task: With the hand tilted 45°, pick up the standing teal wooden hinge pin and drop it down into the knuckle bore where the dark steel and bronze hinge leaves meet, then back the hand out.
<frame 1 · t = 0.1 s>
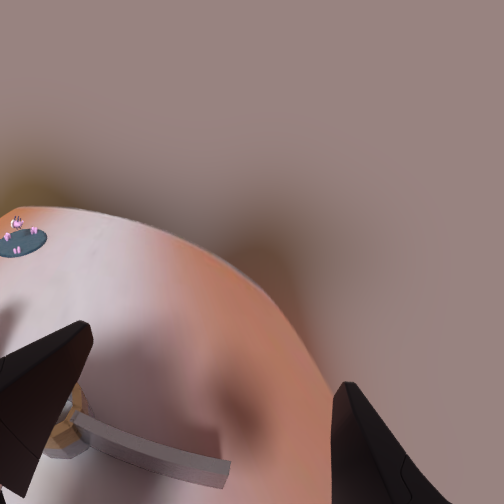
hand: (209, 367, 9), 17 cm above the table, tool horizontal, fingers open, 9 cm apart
bronze hinge leaf: (58, 423, 17), on the table
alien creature: (21, 245, 41), on the table
steel hinge leaf: (58, 423, 17), on the table
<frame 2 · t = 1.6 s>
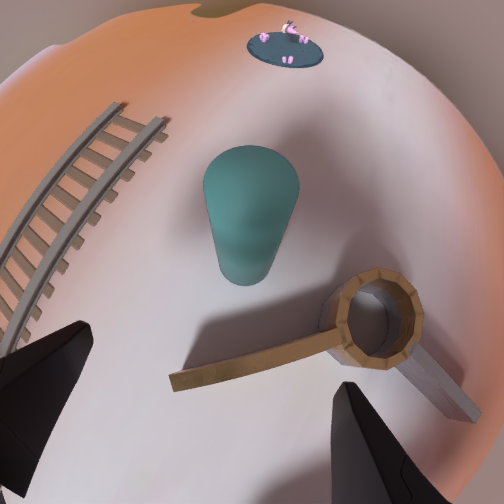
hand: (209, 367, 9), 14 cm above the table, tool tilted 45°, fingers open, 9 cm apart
bronze hinge leaf: (360, 324, 23), on the table
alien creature: (285, 51, 36), on the table
teal hinge pin: (245, 260, 24), on the table
model train track: (55, 224, 25), on the table
steel hinge leaf: (360, 324, 23), on the table
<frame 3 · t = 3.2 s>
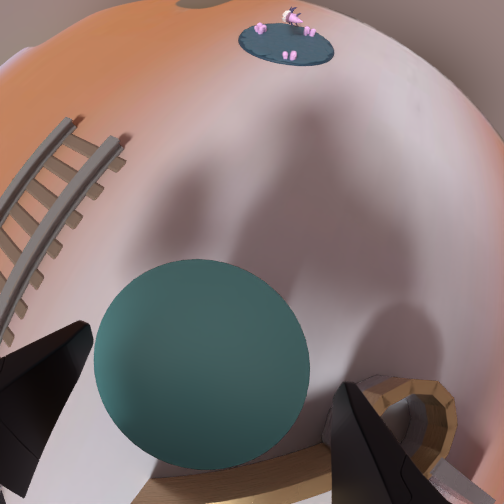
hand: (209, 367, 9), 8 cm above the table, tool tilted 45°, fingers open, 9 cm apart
bronze hinge leaf: (375, 427, 15), on the table
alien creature: (286, 45, 28), on the table
teal hinge pin: (224, 354, 16), on the table
model train track: (1, 278, 18), on the table
steel hinge leaf: (375, 427, 15), on the table
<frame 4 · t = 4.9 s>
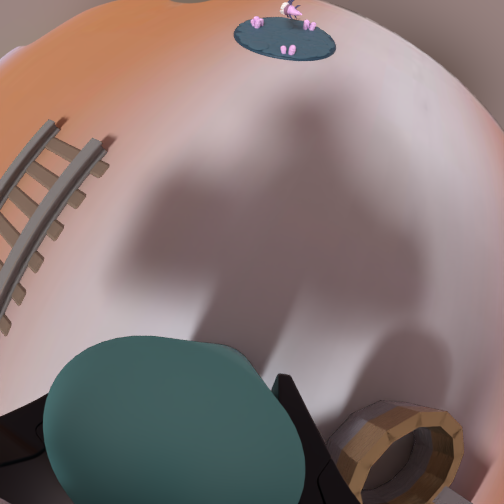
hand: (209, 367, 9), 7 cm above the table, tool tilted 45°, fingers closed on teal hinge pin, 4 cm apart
bronze hinge leaf: (377, 454, 13), on the table
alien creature: (284, 40, 26), on the table
teal hinge pin: (215, 382, 14), on the table, touching gripper
steel hinge leaf: (377, 454, 13), on the table
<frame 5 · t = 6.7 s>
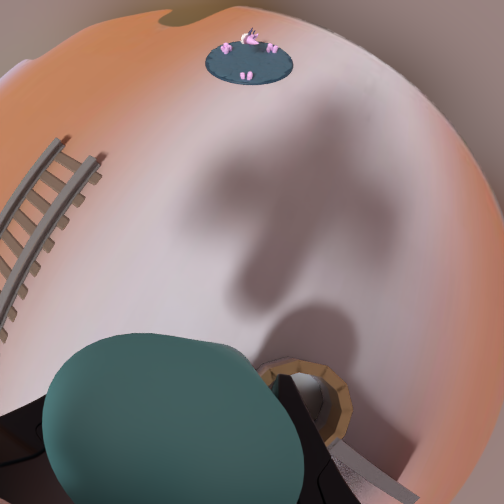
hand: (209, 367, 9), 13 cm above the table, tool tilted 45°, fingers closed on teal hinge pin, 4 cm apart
bronze hinge leaf: (286, 402, 20), on the table
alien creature: (249, 64, 33), on the table
teal hinge pin: (215, 381, 14), point 7 cm above the table, touching gripper
model train track: (7, 269, 23), on the table
steel hinge leaf: (286, 402, 20), on the table
when the fingers open (9 cm above the table, at t = 8.9 s): teal hinge pin drops 3 cm, resting in steel hinge leaf.
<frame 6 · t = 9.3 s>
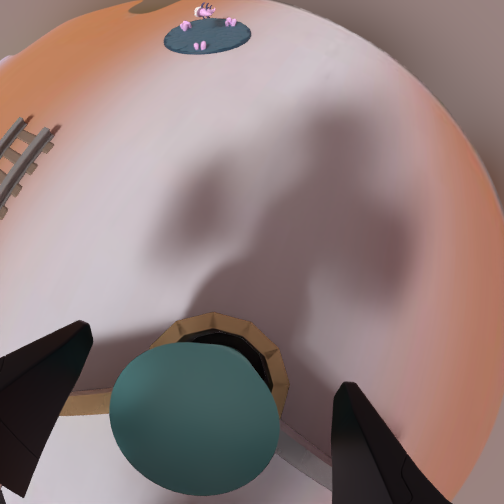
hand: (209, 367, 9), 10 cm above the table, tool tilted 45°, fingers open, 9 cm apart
bronze hinge leaf: (219, 376, 17), on the table
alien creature: (207, 37, 30), on the table
teal hinge pin: (219, 377, 17), resting in steel hinge leaf
steel hinge leaf: (219, 376, 17), on the table
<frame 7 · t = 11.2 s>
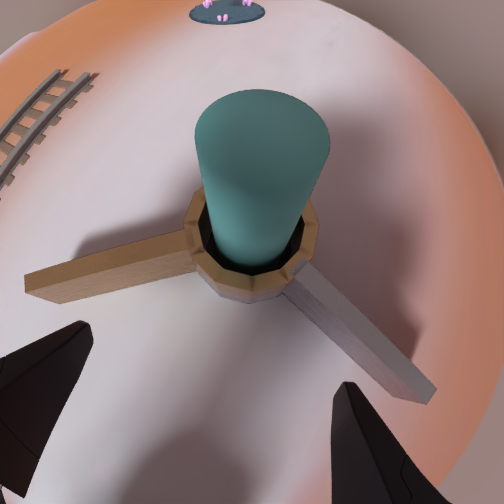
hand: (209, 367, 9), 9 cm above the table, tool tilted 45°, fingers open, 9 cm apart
bronze hinge leaf: (248, 249, 20), on the table
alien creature: (227, 14, 33), on the table
teal hinge pin: (249, 249, 20), resting in steel hinge leaf
steel hinge leaf: (248, 249, 20), on the table
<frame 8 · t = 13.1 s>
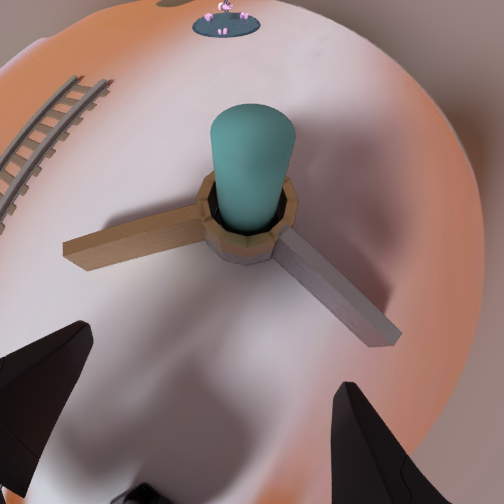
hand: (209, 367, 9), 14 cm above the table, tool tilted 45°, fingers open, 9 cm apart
bronze hinge leaf: (245, 223, 25), on the table
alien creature: (226, 26, 38), on the table
teal hinge pin: (246, 224, 25), resting in steel hinge leaf
model train track: (24, 165, 28), on the table
steel hinge leaf: (245, 223, 25), on the table
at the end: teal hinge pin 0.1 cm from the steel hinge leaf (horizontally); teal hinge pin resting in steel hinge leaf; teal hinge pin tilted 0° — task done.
